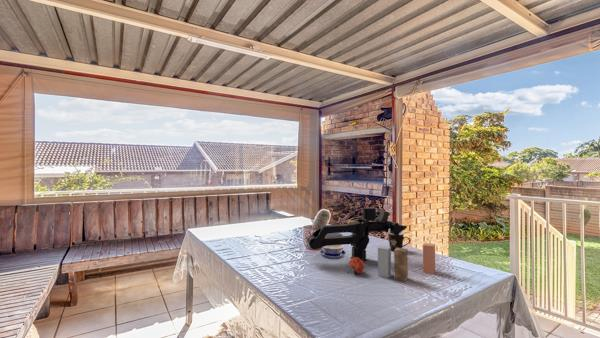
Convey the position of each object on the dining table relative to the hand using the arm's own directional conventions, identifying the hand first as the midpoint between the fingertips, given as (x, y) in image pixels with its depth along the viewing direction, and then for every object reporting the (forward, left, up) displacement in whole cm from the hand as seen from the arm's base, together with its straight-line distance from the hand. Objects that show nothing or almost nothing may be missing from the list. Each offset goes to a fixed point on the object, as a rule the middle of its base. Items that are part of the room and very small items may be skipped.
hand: (401, 225), depth 151 cm
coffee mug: (+3, +8, -17) cm, 19 cm away
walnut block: (-18, -28, -17) cm, 37 cm away
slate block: (-23, -23, -17) cm, 37 cm away
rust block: (-1, -24, -17) cm, 29 cm away
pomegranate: (-34, -17, -17) cm, 42 cm away
